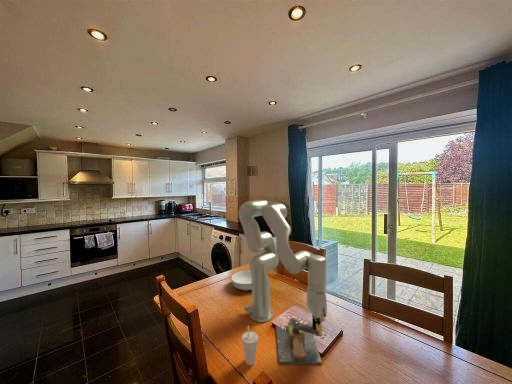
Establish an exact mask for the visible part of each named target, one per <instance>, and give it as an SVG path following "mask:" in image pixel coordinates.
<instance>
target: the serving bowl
mask: <svg viewBox="0 0 512 384" xmlns="http://www.w3.org/2000/svg"><path fill="white" fill-rule="evenodd" d="M230 278H231V283H232V285H233V286H234V287H235V288H237V289H238V290H241V291H250V290H251V291H252V279H251V272H250V269H246V270H240V271H237V272H235V273H233V274H232V275H231V277H230Z"/></svg>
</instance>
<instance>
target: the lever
mask: <svg viewBox="0 0 512 384" xmlns="http://www.w3.org/2000/svg"><path fill="white" fill-rule="evenodd" d="M292 329H293V331H294V332H299V331H300V330H301V331H304V332H308V333H312V334H313V335H315V336H317V337H322V336H323V324H322V322H321V323H316V327H313V326H312V325H308V324H304V323H301V322H300V321H299V320H297V319H296V320H293V321H292Z"/></svg>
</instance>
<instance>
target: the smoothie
mask: <svg viewBox="0 0 512 384" xmlns="http://www.w3.org/2000/svg"><path fill="white" fill-rule="evenodd" d="M241 342H242V346H243V353H244V359H245V363H246V365H247V366H254V365H255V363H256V359H257V358H256V357H257V348H258V342H259V335H258V334H257V332H254V331H250V325H247V331H245V332H244V333H243V334H242V335H241Z"/></svg>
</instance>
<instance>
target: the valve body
mask: <svg viewBox="0 0 512 384" xmlns="http://www.w3.org/2000/svg"><path fill="white" fill-rule="evenodd" d="M293 320H297V319H296V318H295V317H290V318H289V319H288V322H287V325H283V326H284V327H285V328H286V330H285V328H284V329H282V328H281V326H282V325H275V331H276V341H277V342H276V343H277V352H278V354H277V355H278V364H279V365H322V364H323V361H322V358H321V356H320V352H319V349H318V347H317V344H316V340H315V336H314V334H312V333H308V332H304V331H301V330H300V331H299V332H294V331H293V329H292V321H293ZM279 326H280V327H279ZM317 349H318V350H317Z"/></svg>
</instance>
